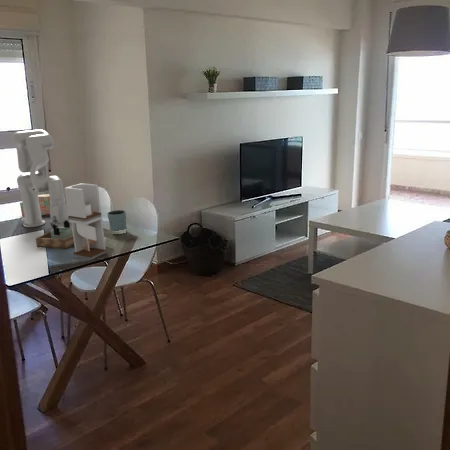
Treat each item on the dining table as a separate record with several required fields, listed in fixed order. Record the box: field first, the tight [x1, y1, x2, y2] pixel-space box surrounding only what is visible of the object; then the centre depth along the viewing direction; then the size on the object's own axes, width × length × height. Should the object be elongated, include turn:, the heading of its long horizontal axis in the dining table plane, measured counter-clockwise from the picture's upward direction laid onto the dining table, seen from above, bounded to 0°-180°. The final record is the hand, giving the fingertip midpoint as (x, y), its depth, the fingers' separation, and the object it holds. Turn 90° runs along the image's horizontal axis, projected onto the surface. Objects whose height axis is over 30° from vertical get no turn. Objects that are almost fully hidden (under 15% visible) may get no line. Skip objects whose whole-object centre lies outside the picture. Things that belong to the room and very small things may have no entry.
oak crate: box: [35, 225, 74, 250], centre depth 278 cm, size 18×22×5 cm
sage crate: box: [49, 226, 73, 239], centre depth 278 cm, size 10×6×6 cm, turn 74°
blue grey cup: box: [107, 209, 128, 232], centre depth 288 cm, size 10×10×12 cm
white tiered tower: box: [63, 182, 107, 261], centre depth 251 cm, size 11×11×35 cm
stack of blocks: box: [19, 193, 51, 217], centre depth 337 cm, size 21×6×12 cm, turn 99°
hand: (62, 232), depth 278 cm, fingers open, 9 cm apart
